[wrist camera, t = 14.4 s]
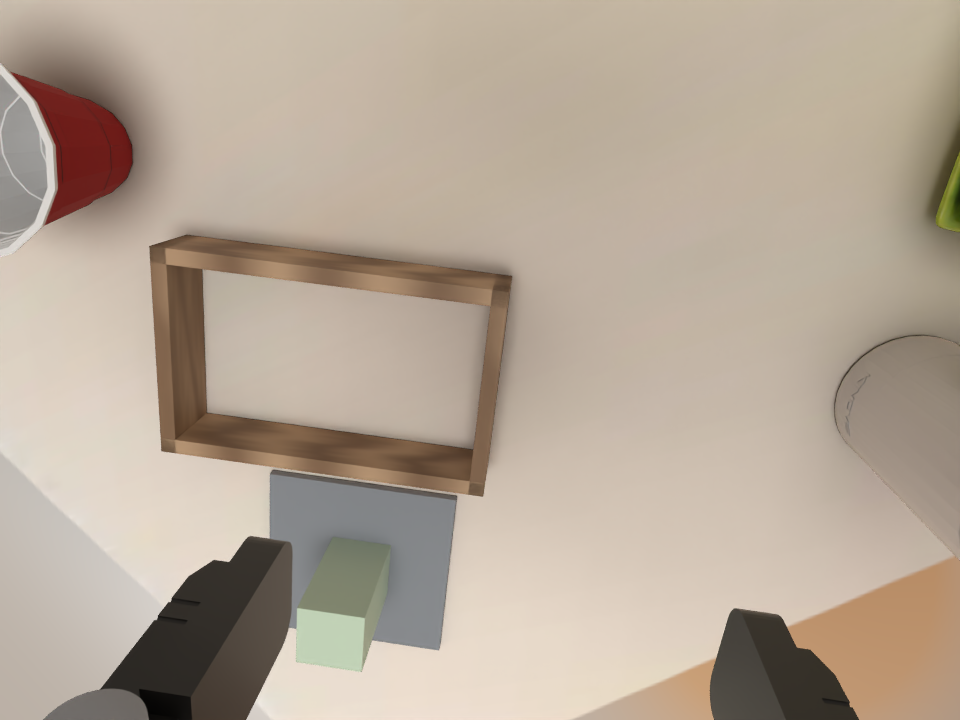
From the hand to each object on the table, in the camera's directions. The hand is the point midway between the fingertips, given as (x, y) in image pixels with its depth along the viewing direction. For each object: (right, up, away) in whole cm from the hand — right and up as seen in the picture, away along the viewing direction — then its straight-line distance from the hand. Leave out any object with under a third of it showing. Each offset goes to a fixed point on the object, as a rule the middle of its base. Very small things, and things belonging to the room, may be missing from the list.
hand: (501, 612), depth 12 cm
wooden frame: (-10, +5, +34) cm, 36 cm away
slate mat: (-10, -11, +40) cm, 43 cm away
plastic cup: (-25, +19, +31) cm, 44 cm away
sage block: (-10, -11, +39) cm, 42 cm away
